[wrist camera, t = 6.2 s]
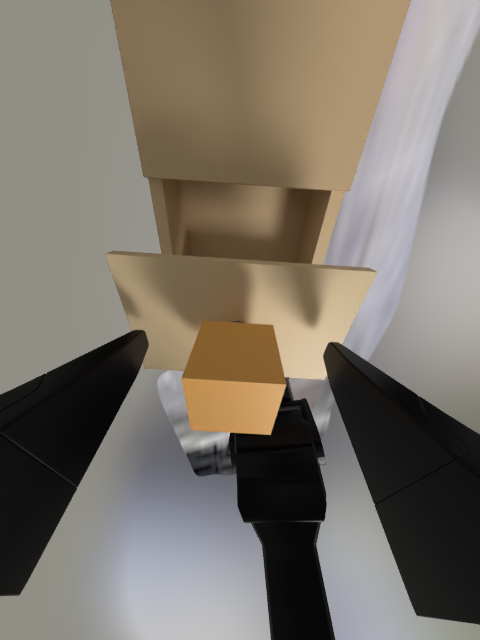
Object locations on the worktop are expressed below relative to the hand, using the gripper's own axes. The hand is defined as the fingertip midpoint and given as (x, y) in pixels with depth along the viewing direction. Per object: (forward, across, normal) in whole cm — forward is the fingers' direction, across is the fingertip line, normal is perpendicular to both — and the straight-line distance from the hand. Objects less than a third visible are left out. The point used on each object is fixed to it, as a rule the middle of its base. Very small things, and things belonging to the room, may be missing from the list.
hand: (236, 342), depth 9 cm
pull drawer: (+2, 0, 0) cm, 2 cm away
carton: (+12, 0, -7) cm, 14 cm away
